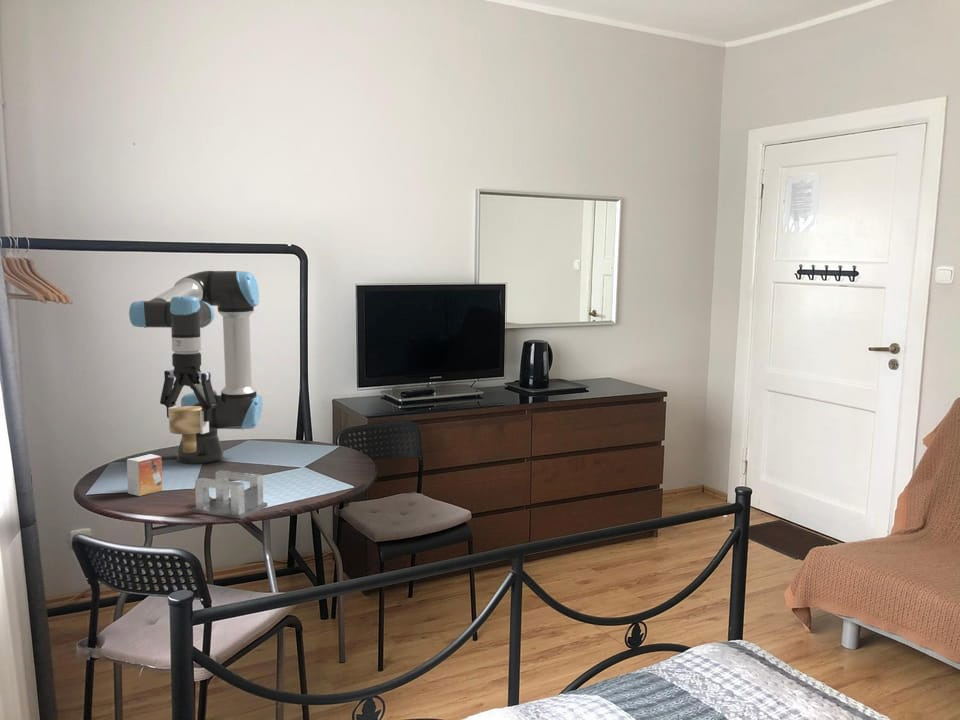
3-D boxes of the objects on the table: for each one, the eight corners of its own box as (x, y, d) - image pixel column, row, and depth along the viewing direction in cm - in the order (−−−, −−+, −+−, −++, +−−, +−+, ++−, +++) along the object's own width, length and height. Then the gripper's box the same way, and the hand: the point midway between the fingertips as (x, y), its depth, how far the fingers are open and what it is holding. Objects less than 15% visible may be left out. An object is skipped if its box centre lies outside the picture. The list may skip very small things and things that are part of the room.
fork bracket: (191, 512, 215) (190, 480, 214) (220, 499, 226) (219, 469, 225) (241, 519, 210) (240, 486, 209) (267, 506, 221) (266, 475, 220)
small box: (139, 497, 228) (137, 461, 226) (127, 493, 231) (126, 458, 229) (163, 490, 235) (162, 456, 233) (151, 487, 237) (150, 453, 236)
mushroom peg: (162, 453, 217) (160, 411, 216) (187, 446, 226) (185, 405, 225) (192, 457, 214) (190, 413, 212) (216, 449, 223) (214, 407, 222)
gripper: (143, 351, 217) (146, 430, 220) (211, 355, 210) (213, 437, 212) (163, 348, 224) (165, 425, 227) (229, 352, 217) (231, 432, 219)
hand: (189, 431), depth 219 cm, fingers closed on mushroom peg, 10 cm apart
